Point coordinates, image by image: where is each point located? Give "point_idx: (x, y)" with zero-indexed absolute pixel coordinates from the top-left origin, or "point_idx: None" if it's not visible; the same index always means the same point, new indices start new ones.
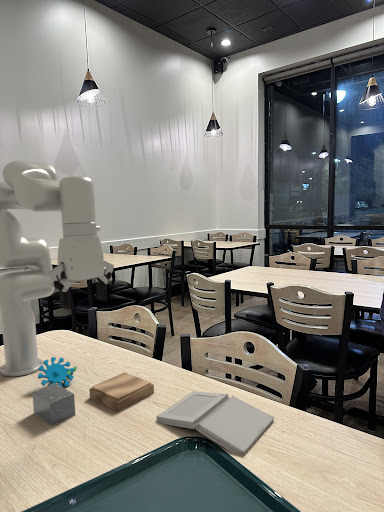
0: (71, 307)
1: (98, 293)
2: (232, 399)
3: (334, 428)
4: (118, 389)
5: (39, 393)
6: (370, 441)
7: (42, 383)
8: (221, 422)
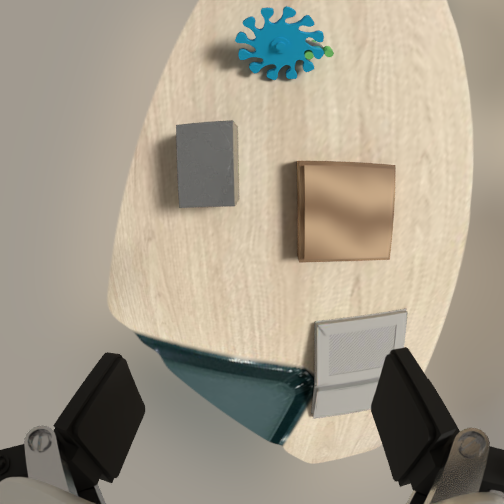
0: (144, 412)
1: (398, 397)
2: None
3: None
4: (331, 228)
5: (183, 142)
6: (378, 445)
7: (239, 55)
8: (338, 397)
